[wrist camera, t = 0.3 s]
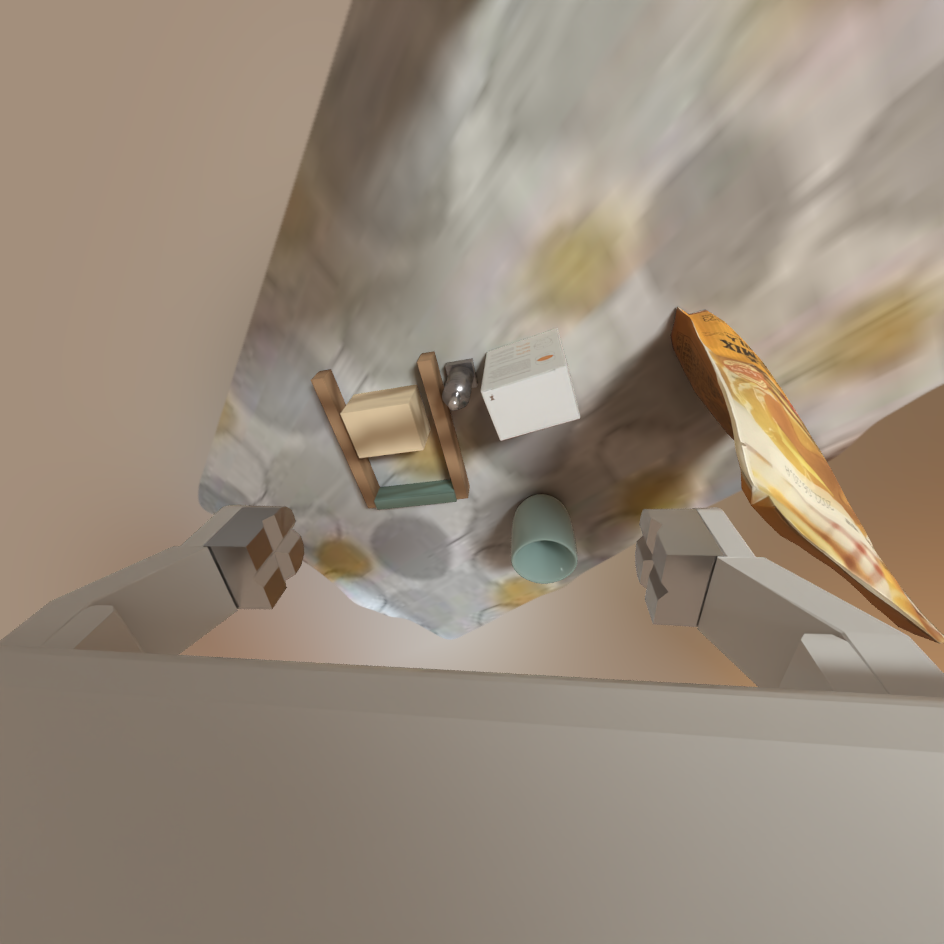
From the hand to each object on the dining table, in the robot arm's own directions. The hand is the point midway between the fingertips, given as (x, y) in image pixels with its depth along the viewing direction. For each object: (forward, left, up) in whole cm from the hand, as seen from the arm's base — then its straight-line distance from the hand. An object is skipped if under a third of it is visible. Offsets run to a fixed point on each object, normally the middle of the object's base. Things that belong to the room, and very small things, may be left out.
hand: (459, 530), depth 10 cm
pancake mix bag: (+15, +20, -38) cm, 46 cm away
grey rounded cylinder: (+11, -7, -38) cm, 40 cm away
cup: (+32, 0, -38) cm, 50 cm away
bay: (+18, -16, -38) cm, 45 cm away
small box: (+11, +1, -38) cm, 40 cm away
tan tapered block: (+15, -16, -38) cm, 44 cm away
